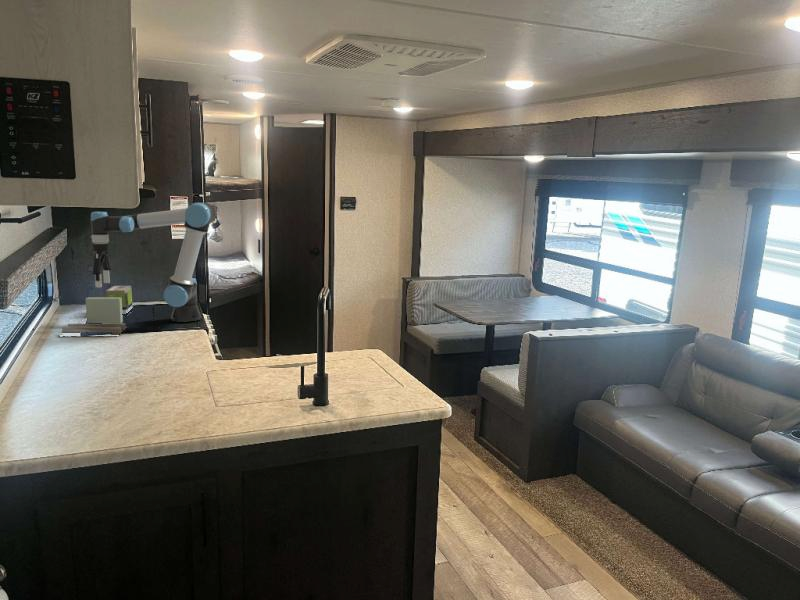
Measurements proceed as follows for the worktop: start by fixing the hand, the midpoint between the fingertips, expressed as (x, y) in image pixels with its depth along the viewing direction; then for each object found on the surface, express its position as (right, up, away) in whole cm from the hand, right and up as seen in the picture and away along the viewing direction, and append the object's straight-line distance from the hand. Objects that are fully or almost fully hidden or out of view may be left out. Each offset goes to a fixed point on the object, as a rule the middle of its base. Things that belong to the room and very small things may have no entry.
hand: (102, 285), depth 308 cm
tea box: (-5, -15, +31) cm, 35 cm away
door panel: (-1, -20, +4) cm, 21 cm away
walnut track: (+2, -23, -13) cm, 27 cm away
